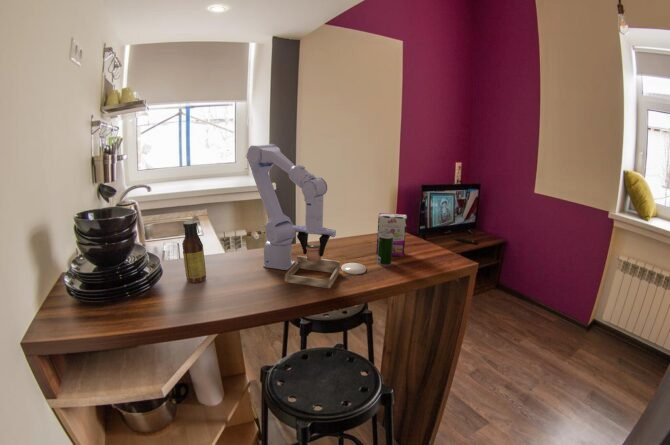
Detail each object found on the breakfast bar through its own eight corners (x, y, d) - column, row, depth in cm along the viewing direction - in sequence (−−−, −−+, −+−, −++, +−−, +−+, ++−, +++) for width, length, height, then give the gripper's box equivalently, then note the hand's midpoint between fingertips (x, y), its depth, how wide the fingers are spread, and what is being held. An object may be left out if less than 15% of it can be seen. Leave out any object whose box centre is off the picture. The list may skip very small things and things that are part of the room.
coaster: (338, 272, 131) (338, 270, 131) (344, 262, 139) (344, 261, 139) (363, 275, 129) (363, 274, 129) (367, 266, 137) (367, 264, 137)
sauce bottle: (210, 278, 123) (206, 221, 117) (196, 285, 118) (191, 226, 112) (195, 274, 126) (191, 218, 120) (181, 281, 120) (175, 223, 115)
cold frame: (284, 281, 122) (284, 269, 121) (297, 267, 134) (297, 255, 133) (329, 288, 119) (330, 275, 118) (339, 272, 131) (339, 261, 129)
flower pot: (304, 261, 123) (303, 247, 121) (309, 255, 127) (308, 242, 126) (319, 262, 121) (318, 249, 120) (323, 256, 126) (323, 243, 125)
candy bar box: (403, 252, 152) (407, 214, 147) (403, 257, 147) (407, 217, 142) (376, 250, 153) (379, 212, 148) (375, 254, 149) (378, 215, 144)
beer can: (383, 267, 136) (385, 236, 133) (374, 262, 141) (376, 232, 137) (394, 264, 139) (396, 234, 136) (384, 259, 144) (387, 230, 140)
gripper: (288, 216, 118) (288, 255, 122) (332, 221, 115) (331, 261, 119) (296, 211, 125) (296, 248, 129) (338, 215, 121) (336, 253, 125)
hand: (313, 254), depth 124 cm, fingers closed on flower pot, 5 cm apart
